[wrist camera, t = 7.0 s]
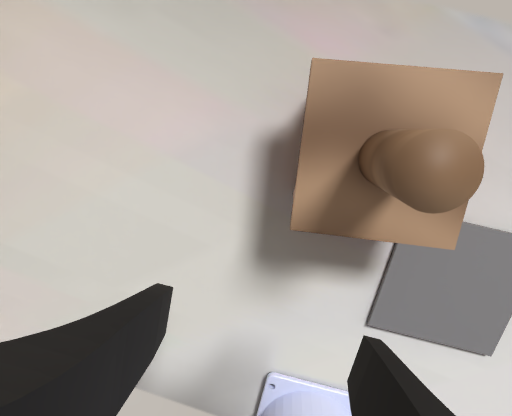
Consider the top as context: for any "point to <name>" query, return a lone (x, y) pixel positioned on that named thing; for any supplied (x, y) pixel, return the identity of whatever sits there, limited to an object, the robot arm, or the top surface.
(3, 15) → the top surface
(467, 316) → the mat
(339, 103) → the lid
